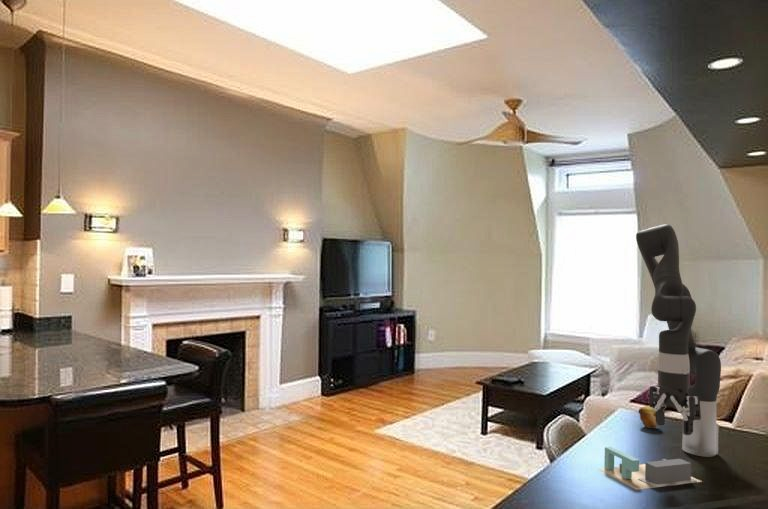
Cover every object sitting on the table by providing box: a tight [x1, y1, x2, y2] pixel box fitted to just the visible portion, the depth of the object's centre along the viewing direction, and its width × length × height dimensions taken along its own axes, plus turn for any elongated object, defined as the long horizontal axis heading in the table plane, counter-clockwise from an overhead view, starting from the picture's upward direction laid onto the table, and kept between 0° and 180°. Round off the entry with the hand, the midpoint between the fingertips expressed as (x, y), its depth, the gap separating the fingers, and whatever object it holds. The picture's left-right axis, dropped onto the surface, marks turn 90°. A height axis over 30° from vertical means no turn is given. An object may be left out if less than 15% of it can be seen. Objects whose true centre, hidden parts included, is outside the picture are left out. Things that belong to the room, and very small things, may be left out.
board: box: [598, 458, 703, 491], centre depth 144 cm, size 22×14×3 cm, turn 108°
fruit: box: [637, 405, 659, 429], centre depth 193 cm, size 8×8×8 cm
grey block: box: [644, 458, 692, 484], centre depth 140 cm, size 12×4×4 cm, turn 108°
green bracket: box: [603, 446, 640, 479], centre depth 143 cm, size 2×10×6 cm, turn 18°
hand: (673, 429), depth 141 cm, fingers open, 8 cm apart
